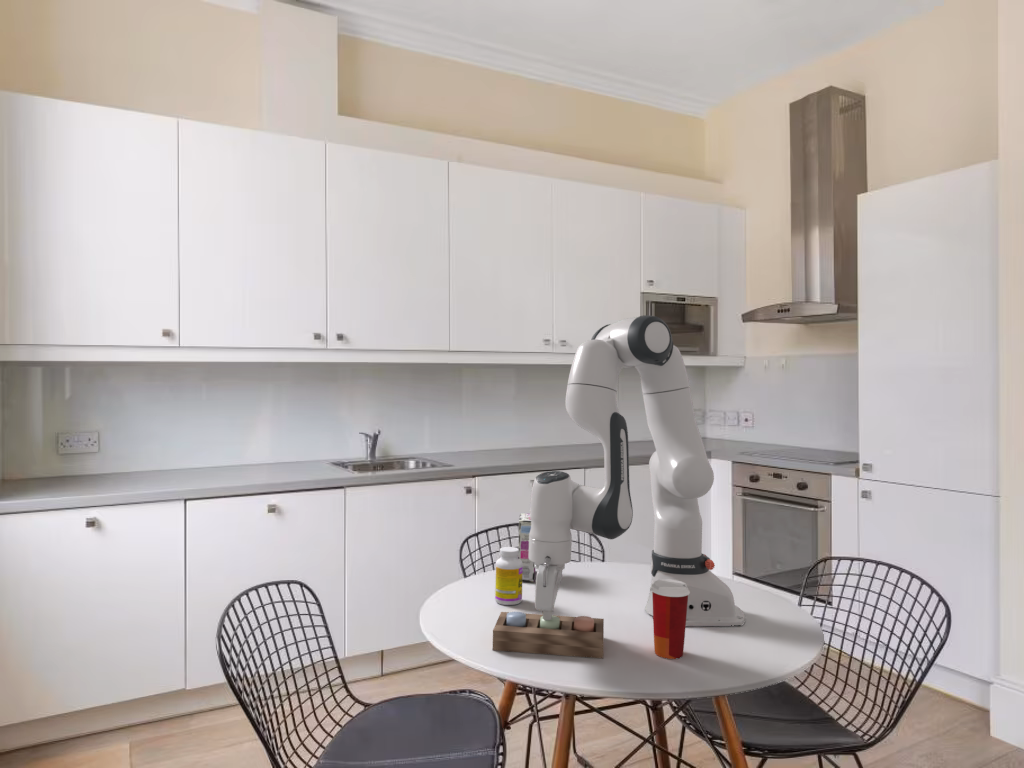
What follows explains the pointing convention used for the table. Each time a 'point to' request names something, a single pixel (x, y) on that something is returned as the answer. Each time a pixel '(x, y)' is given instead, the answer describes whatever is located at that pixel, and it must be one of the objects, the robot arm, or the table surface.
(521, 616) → the button slate
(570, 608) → the table surface
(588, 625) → the button terracotta
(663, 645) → the paper cup
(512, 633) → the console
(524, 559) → the candy bar box
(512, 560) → the supplement bottle
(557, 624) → the button sage
